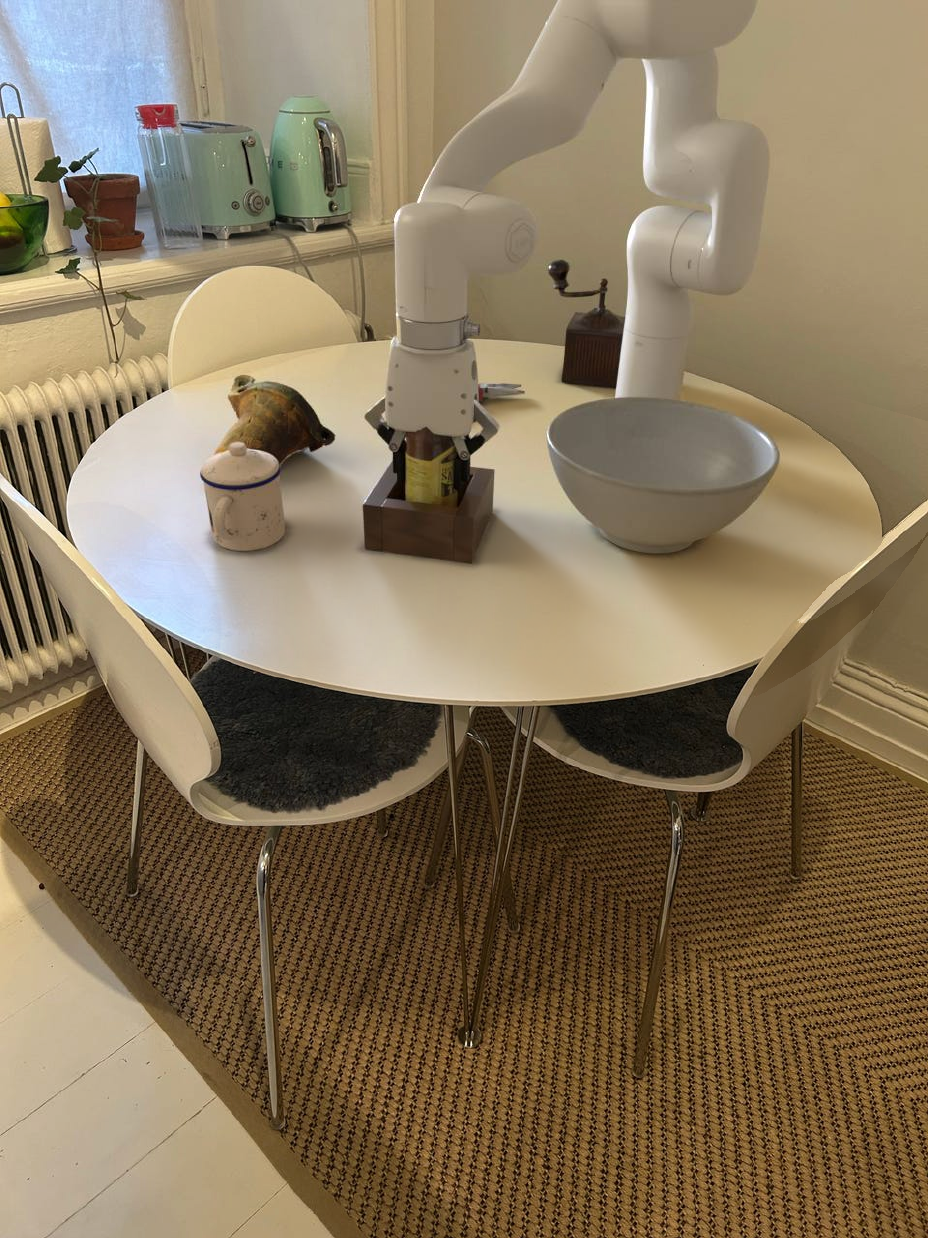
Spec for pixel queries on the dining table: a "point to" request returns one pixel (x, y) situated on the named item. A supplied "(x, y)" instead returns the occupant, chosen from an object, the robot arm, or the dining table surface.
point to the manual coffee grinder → (589, 337)
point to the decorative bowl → (659, 468)
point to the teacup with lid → (244, 498)
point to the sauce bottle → (430, 468)
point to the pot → (273, 420)
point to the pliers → (497, 390)
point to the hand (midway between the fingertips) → (431, 480)
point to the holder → (428, 519)
